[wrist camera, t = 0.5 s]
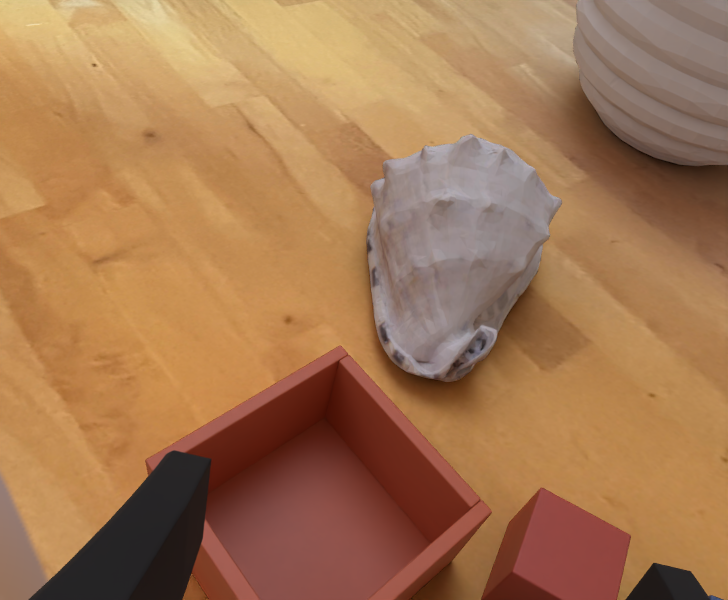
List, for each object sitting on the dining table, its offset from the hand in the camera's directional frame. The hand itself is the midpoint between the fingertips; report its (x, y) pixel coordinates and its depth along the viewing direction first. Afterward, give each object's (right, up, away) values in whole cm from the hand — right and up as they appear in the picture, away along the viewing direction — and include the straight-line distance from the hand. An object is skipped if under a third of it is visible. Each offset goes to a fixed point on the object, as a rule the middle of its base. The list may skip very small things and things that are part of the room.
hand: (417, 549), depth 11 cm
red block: (+7, -8, +18) cm, 21 cm away
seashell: (+5, +5, +29) cm, 29 cm away
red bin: (-3, -6, +18) cm, 19 cm away
